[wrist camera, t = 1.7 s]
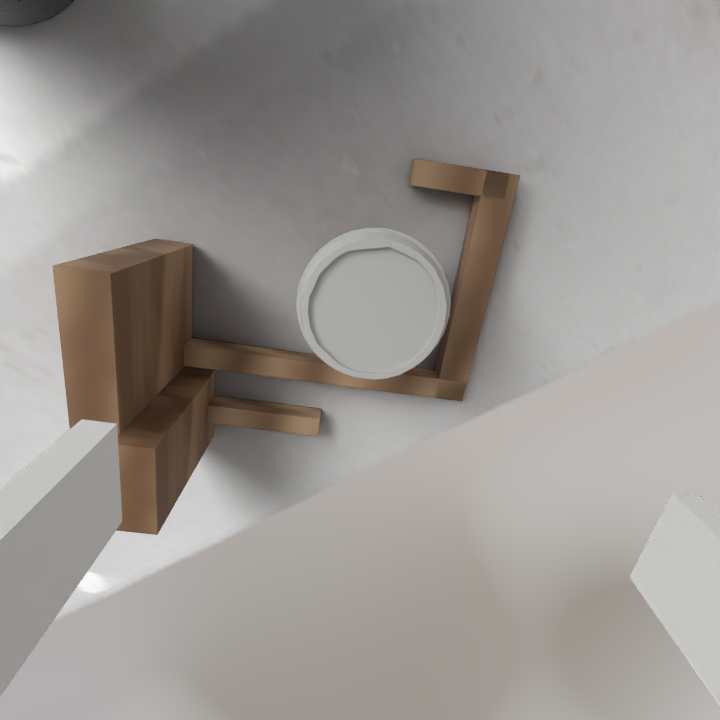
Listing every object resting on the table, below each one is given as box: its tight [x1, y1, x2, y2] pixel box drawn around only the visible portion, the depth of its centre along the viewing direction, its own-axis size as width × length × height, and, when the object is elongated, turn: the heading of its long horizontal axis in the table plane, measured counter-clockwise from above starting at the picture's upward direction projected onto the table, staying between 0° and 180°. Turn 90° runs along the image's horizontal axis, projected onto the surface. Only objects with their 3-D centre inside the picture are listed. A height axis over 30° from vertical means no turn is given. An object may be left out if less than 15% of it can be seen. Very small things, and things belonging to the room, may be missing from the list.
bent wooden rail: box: [53, 159, 520, 434], centre depth 31 cm, size 27×19×13 cm
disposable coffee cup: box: [296, 227, 451, 379], centre depth 32 cm, size 10×10×12 cm
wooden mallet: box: [116, 366, 321, 535], centre depth 36 cm, size 13×7×13 cm, turn 82°
